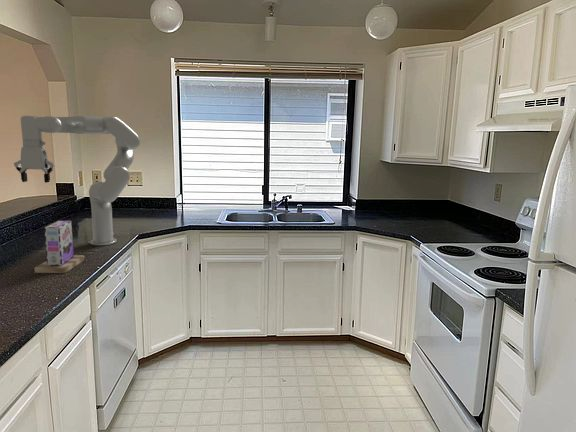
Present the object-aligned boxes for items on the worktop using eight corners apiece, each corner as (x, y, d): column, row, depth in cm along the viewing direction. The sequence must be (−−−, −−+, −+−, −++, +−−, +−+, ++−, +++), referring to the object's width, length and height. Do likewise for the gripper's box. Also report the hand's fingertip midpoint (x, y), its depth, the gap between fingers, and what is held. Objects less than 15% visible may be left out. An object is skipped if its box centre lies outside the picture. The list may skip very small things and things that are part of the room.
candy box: (62, 266, 168) (59, 227, 165) (46, 266, 167) (43, 227, 164) (74, 256, 181) (72, 220, 178) (60, 256, 181) (57, 220, 178)
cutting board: (57, 259, 183) (56, 255, 183) (84, 259, 184) (84, 255, 183) (34, 272, 165) (34, 267, 165) (65, 272, 166) (65, 268, 166)
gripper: (56, 144, 188) (59, 181, 191) (17, 143, 187) (20, 180, 190) (48, 144, 181) (51, 183, 184) (7, 143, 179) (11, 182, 182)
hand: (36, 182), depth 187 cm, fingers open, 9 cm apart
